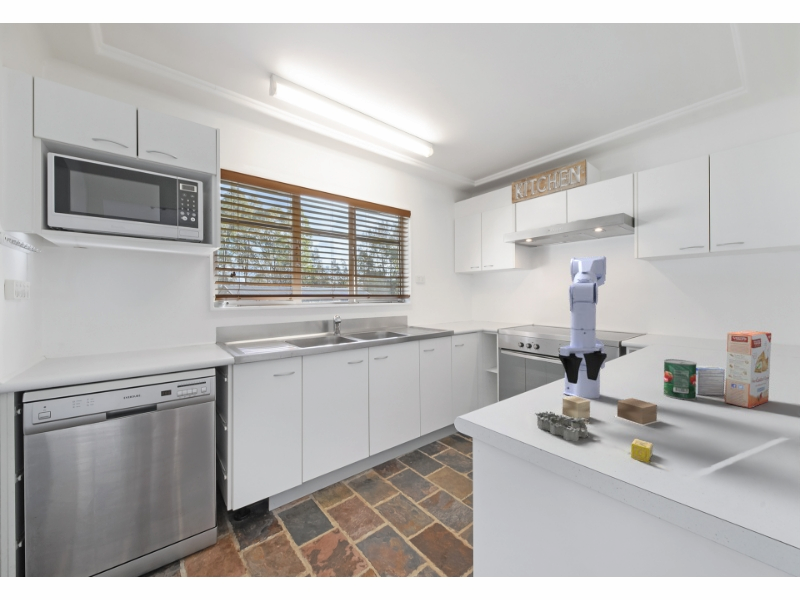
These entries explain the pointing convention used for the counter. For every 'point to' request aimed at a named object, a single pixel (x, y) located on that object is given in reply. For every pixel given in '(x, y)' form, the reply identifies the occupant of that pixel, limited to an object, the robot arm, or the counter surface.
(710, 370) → the medicine box
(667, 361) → the canned tomato
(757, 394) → the cracker box
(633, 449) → the alphabet block
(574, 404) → the oak block
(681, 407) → the counter surface
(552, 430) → the egg carton
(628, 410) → the walnut block
